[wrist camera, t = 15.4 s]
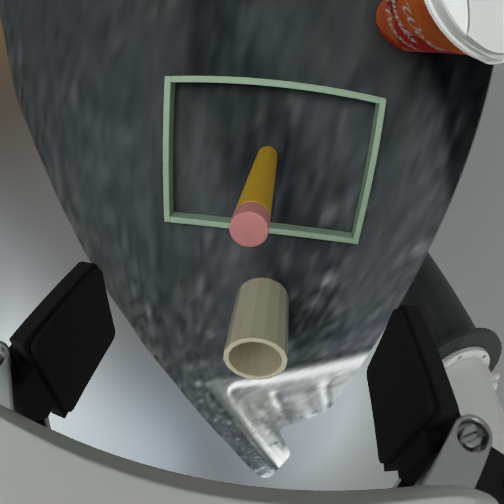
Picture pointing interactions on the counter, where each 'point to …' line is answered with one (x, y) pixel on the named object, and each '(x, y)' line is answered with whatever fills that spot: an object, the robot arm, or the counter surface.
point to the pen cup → (258, 330)
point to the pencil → (255, 201)
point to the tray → (273, 227)
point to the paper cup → (445, 27)
